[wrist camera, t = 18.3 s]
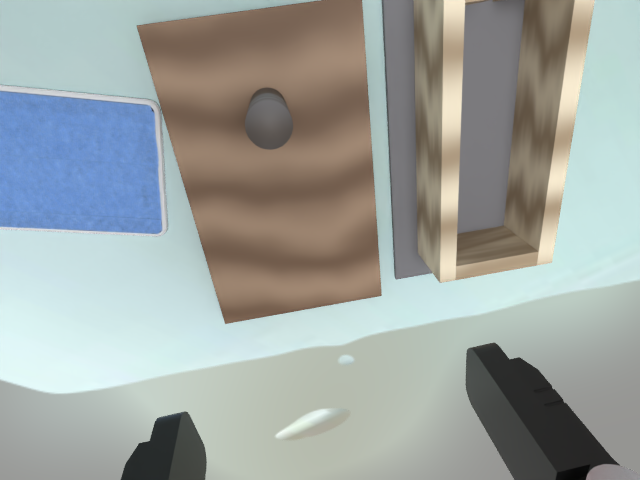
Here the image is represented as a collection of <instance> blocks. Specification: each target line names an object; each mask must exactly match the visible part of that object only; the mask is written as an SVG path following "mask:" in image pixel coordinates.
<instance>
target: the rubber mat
mask: <svg viewBox="0 0 640 480" xmlns="http://www.w3.org/2000/svg"><path fill="white" fill-rule="evenodd" d="M524 5H525V0H501V1H494V2H493V0H489V1H484V2H480V3H475V4H470V5H466V6H465V20H464V49H463V78H462V107H461V136H460V165H459V194H458V223H457V234H459V233H464V232H470V231H476V230H482V229H487V228H493V227H499V226H504V218H505V208H506V197H507V186H508V176H509V165H510V154H511V144H512V133H513V122H514V112H515V101H516V90H517V80H518V69H519V58H520V48H521V37H522V26H523V16H524ZM382 7H383V29H384V51H385V72H386V94H387V115H388V137H389V159H390V180H391V202H392V223H393V245H394V267H395V278H396V279H401V278H407V277H412V276H418V275H424V274H429V273H432V271H431V270H430V269H429V267H428V266H427V265H426V263H425V262H424V261H423V259H422V258H421V257H420V255H419V254H418V235H417V176H416V116H415V56H414V0H382Z"/></svg>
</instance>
